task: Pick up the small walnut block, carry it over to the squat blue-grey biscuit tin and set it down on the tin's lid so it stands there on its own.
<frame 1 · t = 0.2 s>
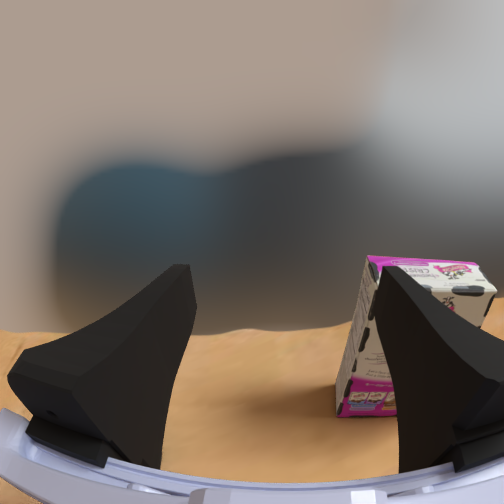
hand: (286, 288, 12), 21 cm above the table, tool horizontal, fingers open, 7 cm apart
candy bar box: (381, 400, 29), on the table
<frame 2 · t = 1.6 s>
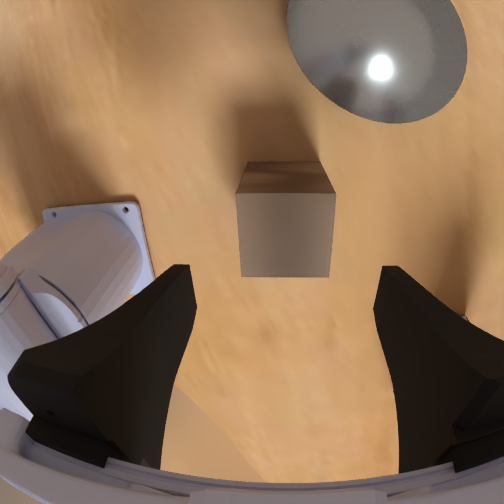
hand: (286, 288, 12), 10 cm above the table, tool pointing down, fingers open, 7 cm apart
biscuit tin: (371, 38, 15), on the table
walnut block: (284, 195, 20), on the table
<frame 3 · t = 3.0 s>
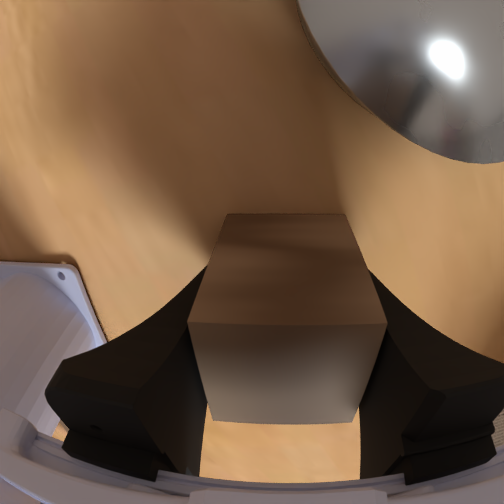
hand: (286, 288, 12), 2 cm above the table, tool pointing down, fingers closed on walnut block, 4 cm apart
biscuit tin: (428, 14, 7), on the table
walnut block: (285, 264, 13), on the table, touching gripper
candy bar box: (451, 420, 20), on the table
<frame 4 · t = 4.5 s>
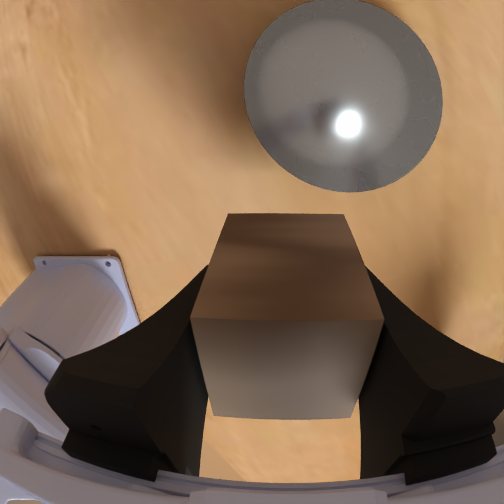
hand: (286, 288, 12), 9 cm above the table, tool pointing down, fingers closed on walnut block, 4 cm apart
biscuit tin: (339, 92, 16), on the table
walnut block: (285, 263, 13), point 7 cm above the table, touching gripper
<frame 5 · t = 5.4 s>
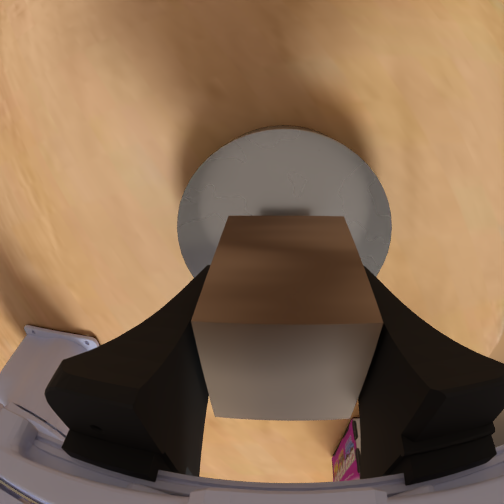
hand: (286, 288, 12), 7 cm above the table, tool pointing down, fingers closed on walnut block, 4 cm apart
biscuit tin: (284, 214, 17), on the table
walnut block: (285, 264, 13), point 5 cm above the table, touching gripper
candy bar box: (361, 436, 30), on the table
when the fingers open (6 cm above the table, at t = 6.0 s): walnut block drops 1 cm, resting on biscuit tin.
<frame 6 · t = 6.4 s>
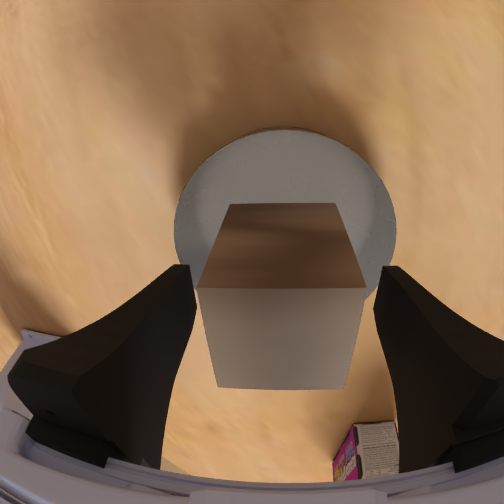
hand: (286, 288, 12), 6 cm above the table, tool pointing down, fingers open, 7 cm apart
biscuit tin: (285, 219, 17), on the table, touching walnut block
walnut block: (283, 249, 14), point 3 cm above the table, touching biscuit tin
candy bar box: (362, 441, 29), on the table
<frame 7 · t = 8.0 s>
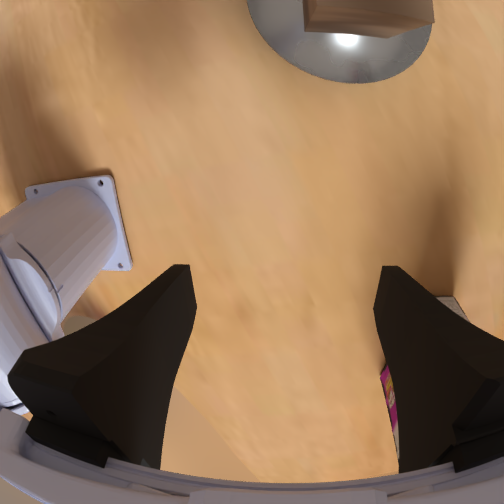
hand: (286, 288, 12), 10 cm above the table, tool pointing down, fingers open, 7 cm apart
biscuit tin: (335, 8, 14), on the table, touching walnut block
candy bar box: (416, 337, 26), on the table
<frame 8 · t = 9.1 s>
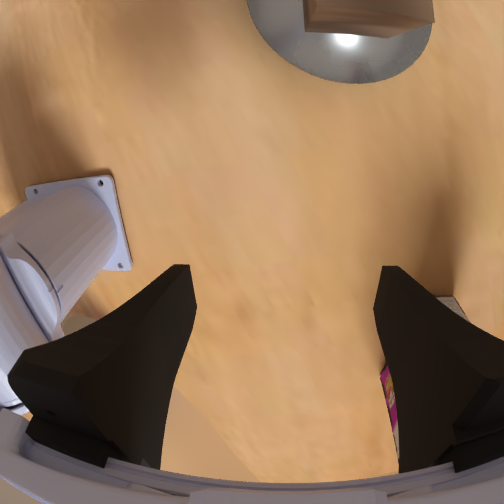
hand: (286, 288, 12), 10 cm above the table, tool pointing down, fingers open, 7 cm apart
biscuit tin: (335, 8, 14), on the table, touching walnut block
candy bar box: (416, 337, 26), on the table
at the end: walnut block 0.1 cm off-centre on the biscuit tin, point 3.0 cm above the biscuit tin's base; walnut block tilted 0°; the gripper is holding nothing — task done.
